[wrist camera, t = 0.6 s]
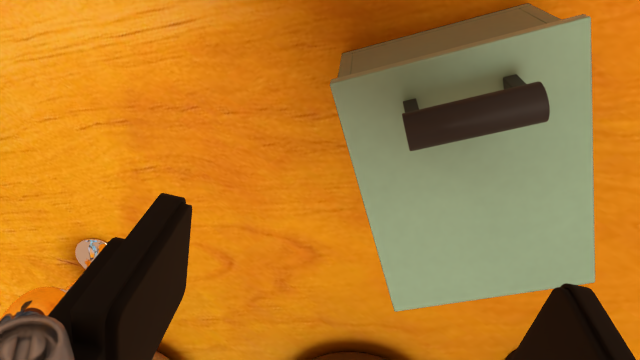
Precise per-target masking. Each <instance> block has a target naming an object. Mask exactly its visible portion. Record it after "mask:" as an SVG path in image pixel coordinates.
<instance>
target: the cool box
mask: <svg viewBox="0 0 640 360" xmlns="http://www.w3.org/2000/svg"><path fill="white" fill-rule="evenodd" d="M559 20H561V19H559V18H557V17H555V16H553V15H551V14H549V13H547V12H545V11H542V10H540V9H538V8H536V7H534V6H532V5H531V4H529V3H527V4H523V5H520V6H516V7H512V8H508V9H505V10H501V11H497V12H494V13H490V14H486V15H483V16H479V17H475V18H472V19H468V20H464V21H460V22H457V23H453V24H449V25H446V26H442V27H438V28H435V29H431V30H427V31H424V32H420V33H416V34H413V35H409V36H405V37H401V38H398V39H394V40H390V41H387V42H383V43H379V44H376V45H372V46H368V47H365V48H361V49H357V50H353V51H350V52H346V53H342V57H341V62H340V68H339V73H338V78H340V77H343V76H347V75H351V74H355V73H359V72H363V71H367V70H370V69H374V68H378V67H382V66H386V65H390V64H393V63H397V62H401V61H405V60H409V59H413V58H417V57H420V56H424V55H428V54H432V53H436V52H440V51H443V50H447V49H451V48H455V47H459V46H463V45H467V44H470V43H474V42H478V41H482V40H486V39H490V38H493V37H497V36H501V35H505V34H509V33H513V32H517V31H520V30H524V29H528V28H532V27H536V26H540V25H543V24H547V23H551V22H555V21H559Z"/></svg>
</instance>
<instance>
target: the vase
mask: <svg viewBox="0 0 640 360" xmlns="http://www.w3.org/2000/svg"><path fill="white" fill-rule="evenodd" d="M312 360H387V359H384V358H381V357H378V356H375V355H371V354H366V353H358V352H339V353H332V354H327V355H323V356H320V357H317V358H315V359H312Z"/></svg>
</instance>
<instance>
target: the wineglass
mask: <svg viewBox="0 0 640 360" xmlns="http://www.w3.org/2000/svg"><path fill="white" fill-rule="evenodd" d="M106 244H107V243H106V242H104V241H102V240H99V239H85V240H82V241H81V242H79V243H78V245H77V246H76V249H75V256H76V259H77V261H78V262H79V263H80V265H81V266H82V267H83V268H84V269H85V270H86V269H87V267H88V266H89V265H90V264H91V263H92V261H93V260H94V259H95V258H96V257H97V255H98V254H99V253H100V252H101V250H102V249H103V248H104V247H105V246H106ZM82 274H83V273H82ZM82 274H81V275H82ZM77 280H78V279H77ZM77 280H75V281H74V282H73V283H71V284H70V285H69V286H67V287H66V289H65V290H63V289H60V288H57V287H40V288H36V289H33V290H31V291H28V292H27V293H25V294H23V295H22V296H21V297H19V298H18V299H17V300H16V301H15V302H13V303H12V304H11V305H10V307H9V308H8V309H7V310H6V311H5V313H4V314H3V315H2V317H1V318H0V324H1V323H2V322H5V321H7V320H10V319H13V318H16V317H20V316H26V315H45V316H48V315H49V314H50V312H51V311H52V310H53V309H54V307H55V306H56V305H57V304H58V303H59V301H60V300H61V299H62V298H63V297H64V295H65V294H66V293H67V292H68V291H69V289H70V288H71V287H72V286H73V284H74V283H75V282H76V281H77Z"/></svg>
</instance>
